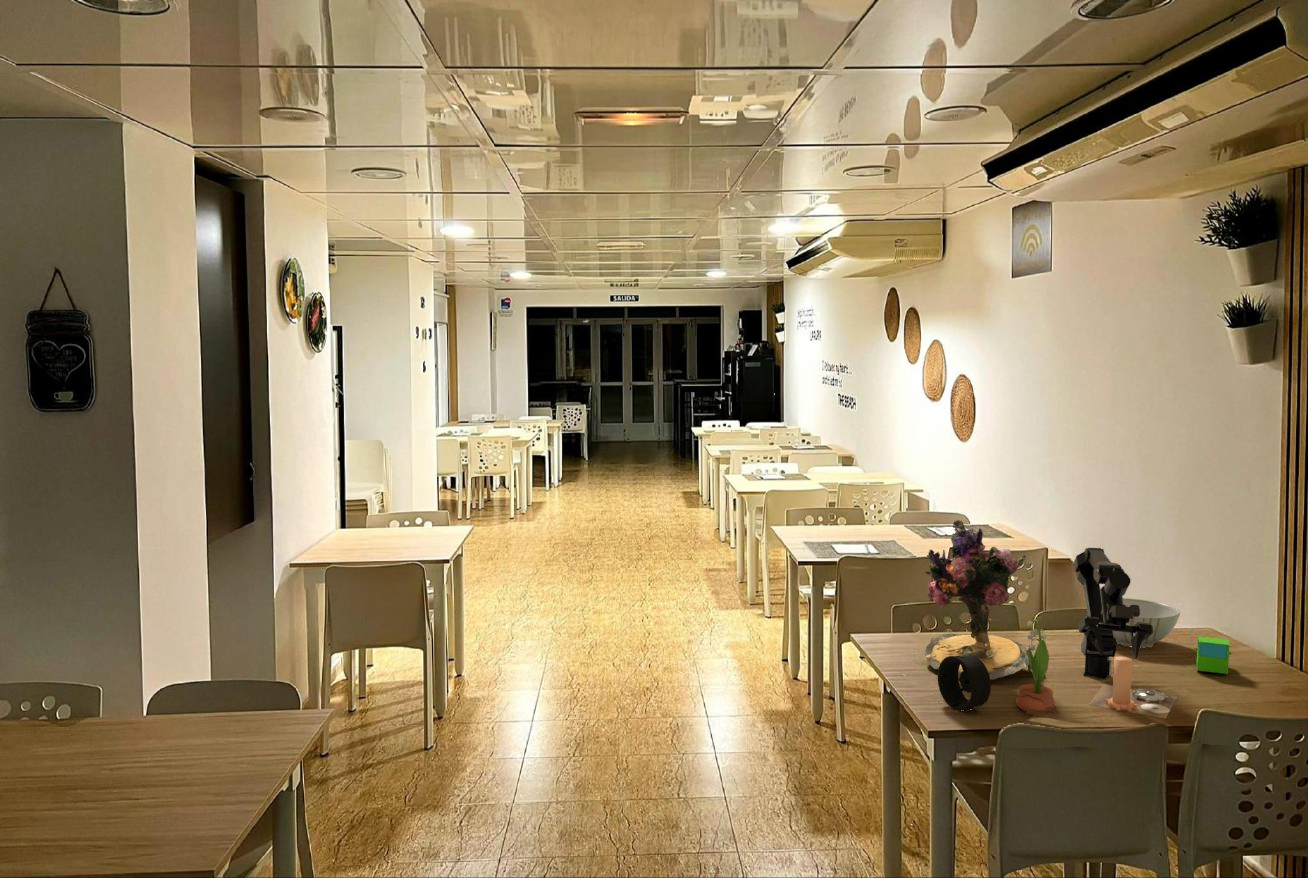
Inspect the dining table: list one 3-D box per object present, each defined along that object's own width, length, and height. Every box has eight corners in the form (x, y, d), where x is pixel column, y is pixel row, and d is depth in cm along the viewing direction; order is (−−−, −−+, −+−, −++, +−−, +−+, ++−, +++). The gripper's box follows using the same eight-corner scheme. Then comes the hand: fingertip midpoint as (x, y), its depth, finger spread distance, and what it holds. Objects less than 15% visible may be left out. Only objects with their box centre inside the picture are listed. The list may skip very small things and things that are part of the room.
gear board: (1088, 709, 291) (1088, 703, 291) (1103, 689, 309) (1104, 683, 309) (1165, 724, 281) (1165, 717, 281) (1176, 702, 298) (1177, 695, 298)
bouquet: (882, 666, 316) (902, 516, 326) (949, 683, 348) (966, 546, 358) (990, 682, 294) (1009, 521, 304) (1051, 699, 326) (1066, 553, 336)
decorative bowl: (1143, 659, 339) (1145, 621, 338) (1072, 638, 362) (1073, 603, 361) (1195, 647, 353) (1197, 611, 352) (1123, 628, 376) (1125, 594, 375)
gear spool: (1103, 707, 289) (1105, 659, 288) (1108, 699, 295) (1110, 653, 294) (1133, 712, 285) (1136, 664, 284) (1138, 705, 291) (1141, 657, 290)
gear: (1129, 699, 296) (1130, 693, 295) (1135, 691, 303) (1135, 684, 303) (1164, 705, 291) (1165, 699, 291) (1169, 696, 298) (1170, 690, 298)
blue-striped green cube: (1229, 666, 333) (1230, 634, 332) (1231, 678, 321) (1233, 645, 320) (1192, 661, 337) (1193, 630, 336) (1193, 673, 325) (1195, 641, 324)
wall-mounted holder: (1003, 660, 286) (973, 664, 283) (1001, 713, 288) (971, 718, 284) (967, 646, 300) (938, 649, 296) (965, 697, 301) (936, 701, 297)
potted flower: (1006, 701, 297) (1010, 612, 295) (1041, 701, 298) (1045, 612, 296) (1025, 716, 285) (1029, 624, 283) (1061, 716, 286) (1065, 623, 284)
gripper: (1088, 588, 300) (1094, 640, 291) (1157, 596, 299) (1165, 649, 290) (1075, 605, 309) (1080, 656, 300) (1142, 613, 308) (1149, 664, 299)
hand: (1119, 656), depth 297 cm, fingers open, 9 cm apart
